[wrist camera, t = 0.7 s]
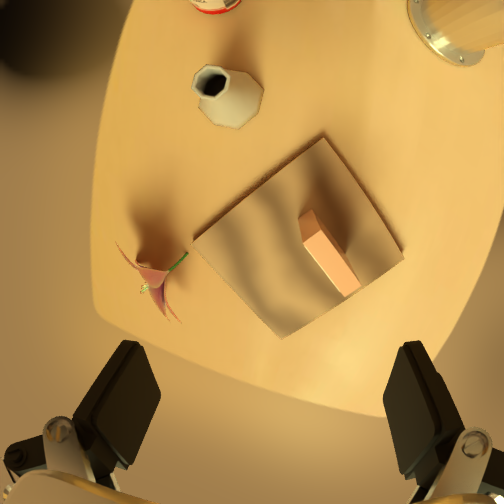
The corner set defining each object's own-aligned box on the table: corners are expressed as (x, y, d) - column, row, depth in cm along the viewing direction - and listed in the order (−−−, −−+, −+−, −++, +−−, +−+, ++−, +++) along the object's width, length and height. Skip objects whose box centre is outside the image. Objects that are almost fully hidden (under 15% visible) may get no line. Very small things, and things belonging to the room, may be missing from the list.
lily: (136, 211, 36) (85, 256, 30) (204, 221, 31) (147, 281, 25) (164, 276, 44) (126, 320, 38) (227, 295, 39) (188, 351, 33)
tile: (311, 208, 32) (321, 229, 24) (345, 254, 33) (361, 285, 26) (296, 219, 33) (301, 244, 25) (331, 264, 34) (343, 298, 27)
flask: (241, 140, 31) (225, 139, 22) (188, 111, 30) (153, 101, 21) (275, 88, 28) (273, 66, 19) (220, 60, 27) (197, 31, 18)
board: (322, 137, 30) (323, 137, 29) (401, 255, 34) (404, 258, 33) (193, 241, 36) (190, 244, 35) (281, 334, 40) (281, 340, 39)
